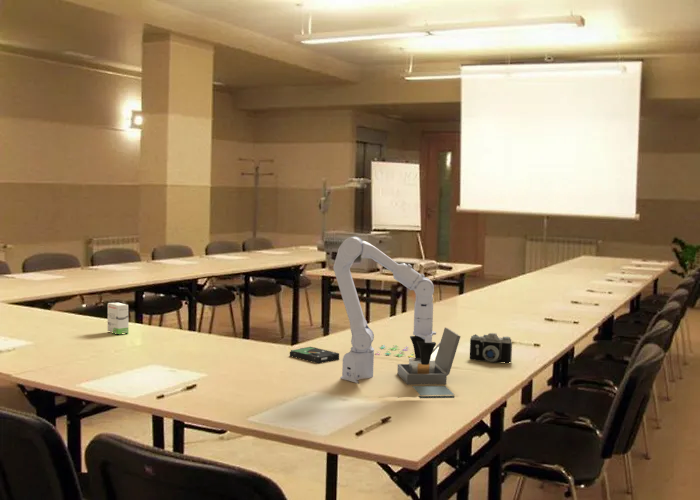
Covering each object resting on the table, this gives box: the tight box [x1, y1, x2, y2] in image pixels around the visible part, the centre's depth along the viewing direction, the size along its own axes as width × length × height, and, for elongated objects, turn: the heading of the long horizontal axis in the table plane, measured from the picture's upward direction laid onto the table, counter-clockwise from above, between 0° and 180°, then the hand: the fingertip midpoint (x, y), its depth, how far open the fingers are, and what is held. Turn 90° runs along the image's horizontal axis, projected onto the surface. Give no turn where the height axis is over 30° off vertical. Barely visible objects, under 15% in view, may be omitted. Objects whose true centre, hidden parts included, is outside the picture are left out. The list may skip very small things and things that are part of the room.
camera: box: [469, 332, 513, 364], centre depth 266 cm, size 15×7×10 cm, turn 67°
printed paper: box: [375, 344, 439, 361], centre depth 279 cm, size 30×30×2 cm
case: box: [397, 327, 461, 386], centre depth 235 cm, size 16×15×16 cm
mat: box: [412, 385, 455, 399], centre depth 221 cm, size 10×10×1 cm
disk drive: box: [289, 346, 340, 364], centre depth 265 cm, size 10×3×15 cm
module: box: [408, 357, 435, 374], centre depth 234 cm, size 7×5×6 cm
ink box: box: [107, 302, 129, 334], centre depth 300 cm, size 9×5×12 cm, turn 45°
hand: (422, 361), depth 234 cm, fingers open, 7 cm apart
